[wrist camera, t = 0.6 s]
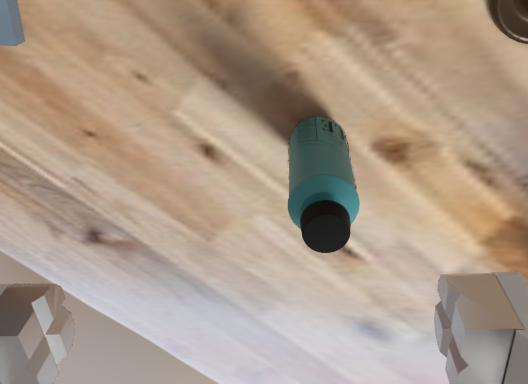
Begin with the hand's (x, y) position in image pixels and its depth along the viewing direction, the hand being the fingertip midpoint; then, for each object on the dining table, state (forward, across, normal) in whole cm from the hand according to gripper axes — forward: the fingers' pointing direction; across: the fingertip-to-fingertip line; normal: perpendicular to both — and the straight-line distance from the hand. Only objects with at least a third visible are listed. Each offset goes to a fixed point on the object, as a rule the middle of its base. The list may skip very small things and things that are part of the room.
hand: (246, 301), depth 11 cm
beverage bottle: (+45, -3, +16) cm, 48 cm away
